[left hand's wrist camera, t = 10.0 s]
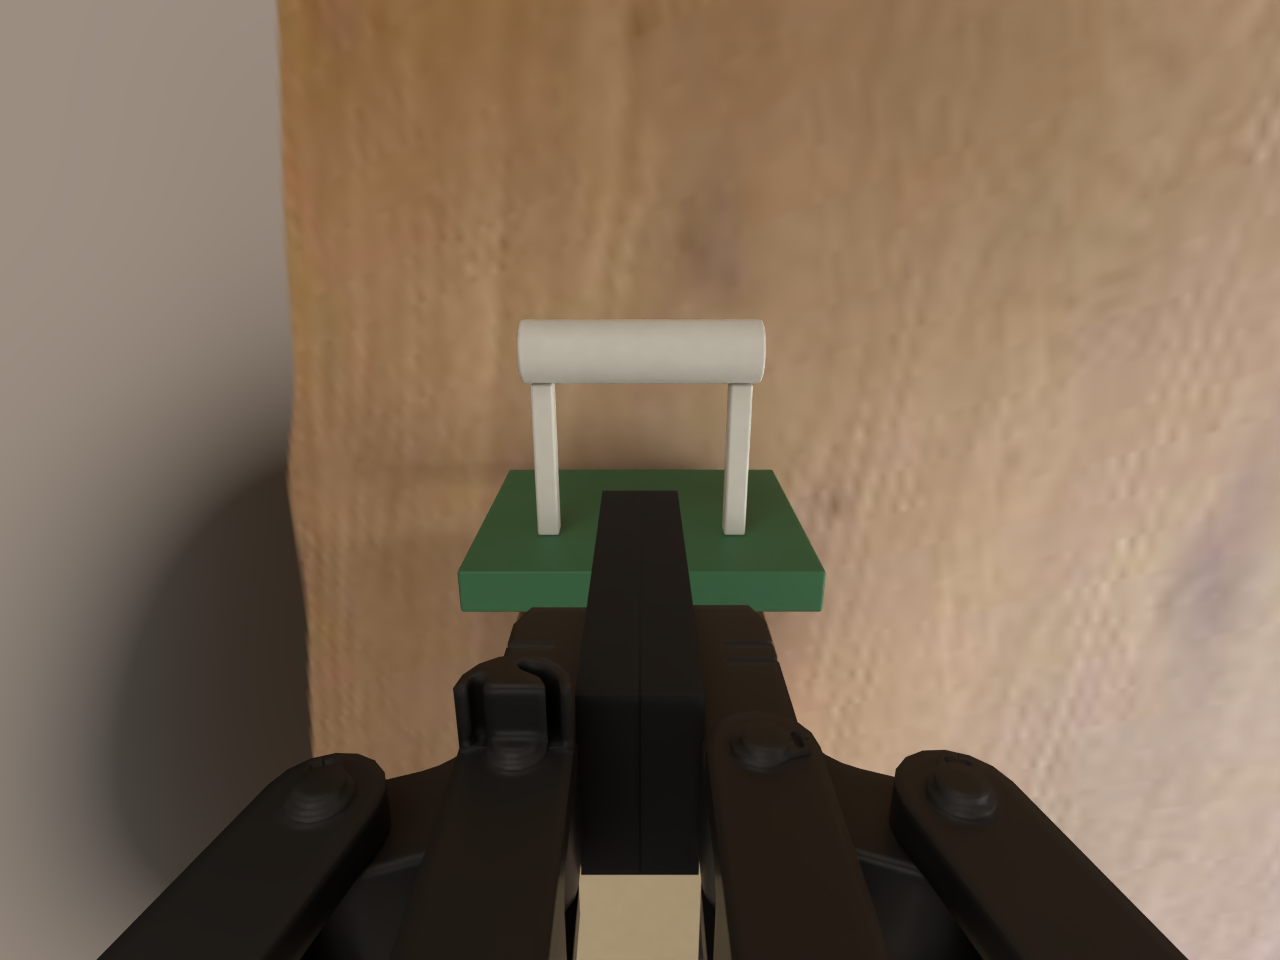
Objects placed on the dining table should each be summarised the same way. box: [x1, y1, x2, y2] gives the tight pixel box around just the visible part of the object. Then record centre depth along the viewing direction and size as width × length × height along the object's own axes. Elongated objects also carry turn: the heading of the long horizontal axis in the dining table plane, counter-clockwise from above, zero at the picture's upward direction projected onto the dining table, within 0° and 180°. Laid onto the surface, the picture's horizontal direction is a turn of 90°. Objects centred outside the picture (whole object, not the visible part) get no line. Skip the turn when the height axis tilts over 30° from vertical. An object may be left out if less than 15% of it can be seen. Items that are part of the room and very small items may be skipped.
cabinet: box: [576, 863, 701, 960], centre depth 28 cm, size 19×11×10 cm, turn 0°
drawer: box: [458, 319, 826, 660], centre depth 24 cm, size 24×10×8 cm, turn 0°
